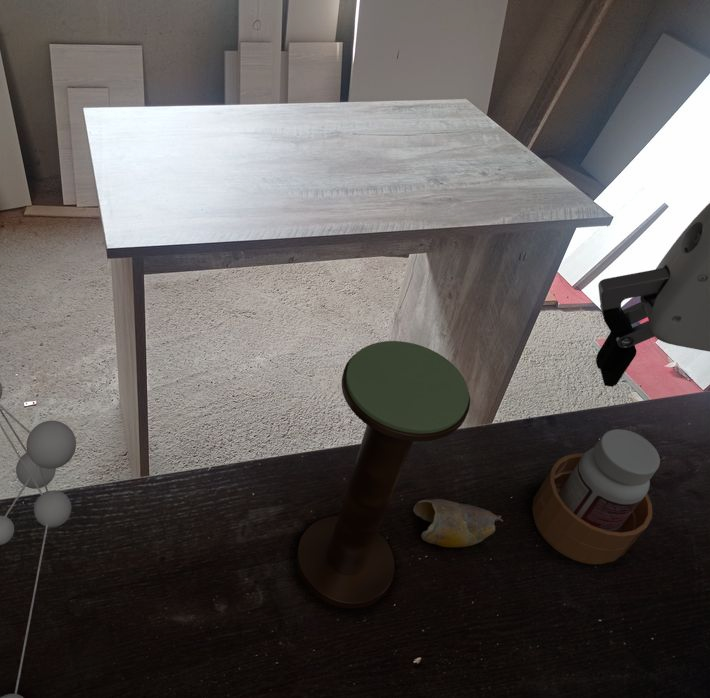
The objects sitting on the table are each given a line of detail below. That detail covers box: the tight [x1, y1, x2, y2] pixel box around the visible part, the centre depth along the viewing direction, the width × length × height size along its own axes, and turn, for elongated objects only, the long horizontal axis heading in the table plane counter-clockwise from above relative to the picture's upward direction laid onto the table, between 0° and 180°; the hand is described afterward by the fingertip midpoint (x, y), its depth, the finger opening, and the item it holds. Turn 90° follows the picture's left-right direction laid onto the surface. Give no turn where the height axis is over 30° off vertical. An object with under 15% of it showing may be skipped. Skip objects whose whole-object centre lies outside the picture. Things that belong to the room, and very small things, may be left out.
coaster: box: [346, 340, 470, 434], centre depth 50 cm, size 9×9×1 cm
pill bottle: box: [558, 428, 661, 532], centre depth 68 cm, size 6×6×11 cm
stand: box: [296, 354, 471, 609], centre depth 59 cm, size 9×9×24 cm
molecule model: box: [0, 382, 77, 698], centre depth 57 cm, size 14×25×18 cm, turn 172°
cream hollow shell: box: [412, 498, 504, 548], centre depth 69 cm, size 8×4×5 cm, turn 103°
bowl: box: [531, 452, 653, 565], centre depth 71 cm, size 9×9×6 cm
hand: (667, 385), depth 57 cm, fingers open, 9 cm apart
